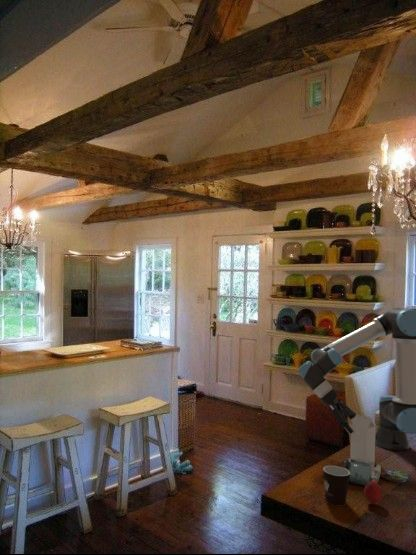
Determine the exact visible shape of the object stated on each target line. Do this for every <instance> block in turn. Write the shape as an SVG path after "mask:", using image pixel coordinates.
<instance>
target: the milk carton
mask: <svg viewBox="0 0 416 555" xmlns="http://www.w3.org/2000/svg"><path fill="white" fill-rule="evenodd" d="M372 419H373V418H372V417H370V416H366V415H361V414H357V413H356V417H355V419H354V421H353V423H352V422H351V423H350V424H351V426H352V427H353V428H354V429H355V430H356V432H357V433H358V434H359V435H360V436H361V438H359V439H358V440H357V441H355V440H354V439H353V438H352V436H351V435H350V451H349V453H350V454H349V457H350V458H349V459H351V458H352V459H356V458H359V459H364V460H369V461H373V462H374V463H375V453H376V444H375V435H376V425H375V423H374V422H373V420H372Z"/></svg>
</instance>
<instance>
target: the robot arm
mask: <svg viewBox="0 0 416 555" xmlns="http://www.w3.org/2000/svg"><path fill="white" fill-rule="evenodd" d="M391 334H392V336H391V337H392V340H394V342H395V395H388V394H387V395H383V394H382V395H381V396H380V397H379V400H378V401H379V403H378V405H379V407H378V428H377V431H376V432H375V446H378V447H380V448H383V449H387V450H393V451H407V450H409V449H410V442H409V439H408V435H414V434H416V310H415V309H412V308H399V307H396V308H395V307H394V308H392V309H389V310H387V311H385V312H384V313H382V314H380V315H378V316H377V317H374V318H372V321H371V322H369V323H367V324H366V325H364V326H362V327H360V328H358V329H356V330H353V331H351V332H350V333H348V334H346V335H345V336H342V337H340V338H339V339H336V340H335V341H333V342H331V343H329V344H327V345H325V346H323V347H321V348H315V349H314V350H313V351H312V352H311V354H310V358H311V361H310V360H307V361H306V362H304V363H303V364H302V365H300V367H299V368H298V369H297V373H298V374H299V375H300V377H301V378H302V380H303V381H304V382H305V384H307V385H308V387H309V388H310V389H311V390H312V392H313V394H314V395H315V396H317V398H320V401H321V402H322V404H323V405H324V406H325V407H326V406H328V405H329V406H328V409H329V410H330V412H331V413H332V414H333V416H334V418H335V419H336V421H337V423H338V424H339V426H340V428H341V429H343V430H344V429H345V430H346V432H347V433H348V434H349V435H350V437H351V436H352V438H353V439H354V440H355V441H357V440H358V439H359V438H361V436H360V435H359V434H358V433H357V432H356V430H355V429H354V428H353V427H352V426H351V424H352V423H353V421H354V419H355V417H356V414H357V413H356V412H354V411H353V410H352V409H351V408H350V407H349V406H348V405H347V404H345V403H344V402H343V401H342V400H341V398H339V393H338V392H337V391H336V390H335V389H334V388H333V386H332V385H331V384H330V382H328V380H327V379H326V378H325V377H326V376H327V375H328V374H329V373H331V372H332V371H333V370H335V369H336V368H337V367H339V365H340V364H342V363H343V362H344V359H343V356H345V355H347V354H348V353H350V352H352V351H354V350H356V349H358V348H360V347H362V346H364V345H366V344H368V343H370V342H372V341H374V340H376V339H378V338H380V337H383V338H385V337H386V336H388V335H389V336H390V335H391ZM346 417H347V418H348V419H349V420H350V422H351V423H349V422H348V419H347V418H346ZM407 434H408V435H407Z"/></svg>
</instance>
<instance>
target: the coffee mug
mask: <svg viewBox="0 0 416 555" xmlns="http://www.w3.org/2000/svg"><path fill="white" fill-rule="evenodd" d="M322 468H323V469H322V472H323V484H324V487H323V488H324V498H325V502H326V501H327V502H328V503H327V502H326V503H327V504H329V503H330V504H329V505H331V504H333V505H332V506H335V505H343V506H345V505H346V501H347V495H348V490H349V483H350V482H349V477H350V472H349V471H348V470H347V469H345V468H343V466H342V467H341V466H337V465H326V466H324V467H322ZM344 504H345V505H344Z"/></svg>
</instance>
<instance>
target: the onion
mask: <svg viewBox="0 0 416 555" xmlns="http://www.w3.org/2000/svg"><path fill="white" fill-rule="evenodd" d="M363 495H364V497H365V499H366V500H367V501H368V502H369V503H370V504H371V505H376V504H378V503H380V502H381V501H382V499H383V496H384V492H383V490H382V487H381V485H379V484H378V483H376V480H372V482H370V483H368V484H367V485H366V486H365V487H364V489H363Z"/></svg>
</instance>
